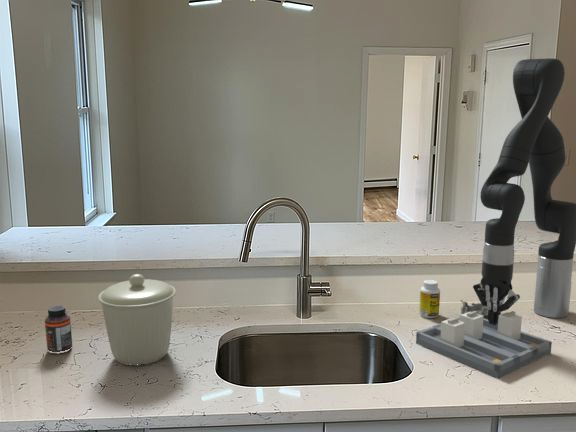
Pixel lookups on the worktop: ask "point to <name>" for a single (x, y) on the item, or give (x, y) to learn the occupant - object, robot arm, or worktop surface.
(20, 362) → the worktop surface
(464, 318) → the white tall block
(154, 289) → the canister
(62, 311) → the supplement bottle
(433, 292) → the supplement bottle
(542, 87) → the robot arm
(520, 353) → the switch board
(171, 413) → the worktop surface
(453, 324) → the tab
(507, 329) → the white upright block
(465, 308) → the grey jagged lump
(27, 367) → the worktop surface
